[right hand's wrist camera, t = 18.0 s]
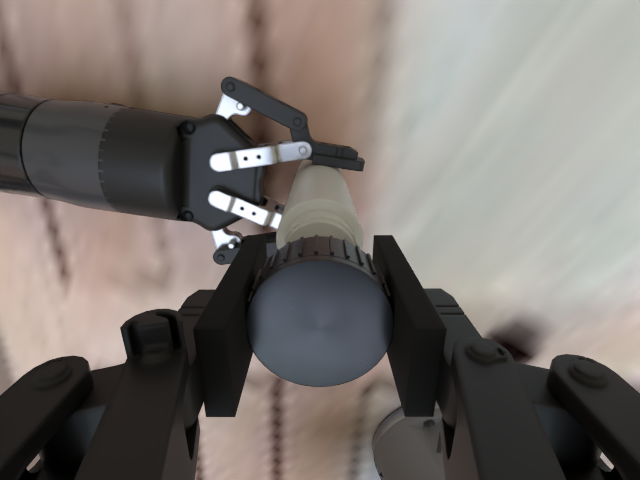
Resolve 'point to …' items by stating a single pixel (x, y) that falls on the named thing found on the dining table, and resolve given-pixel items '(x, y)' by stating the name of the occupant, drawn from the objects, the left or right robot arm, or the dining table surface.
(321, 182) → the bottle
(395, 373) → the right robot arm
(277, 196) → the dining table surface
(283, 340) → the lid
